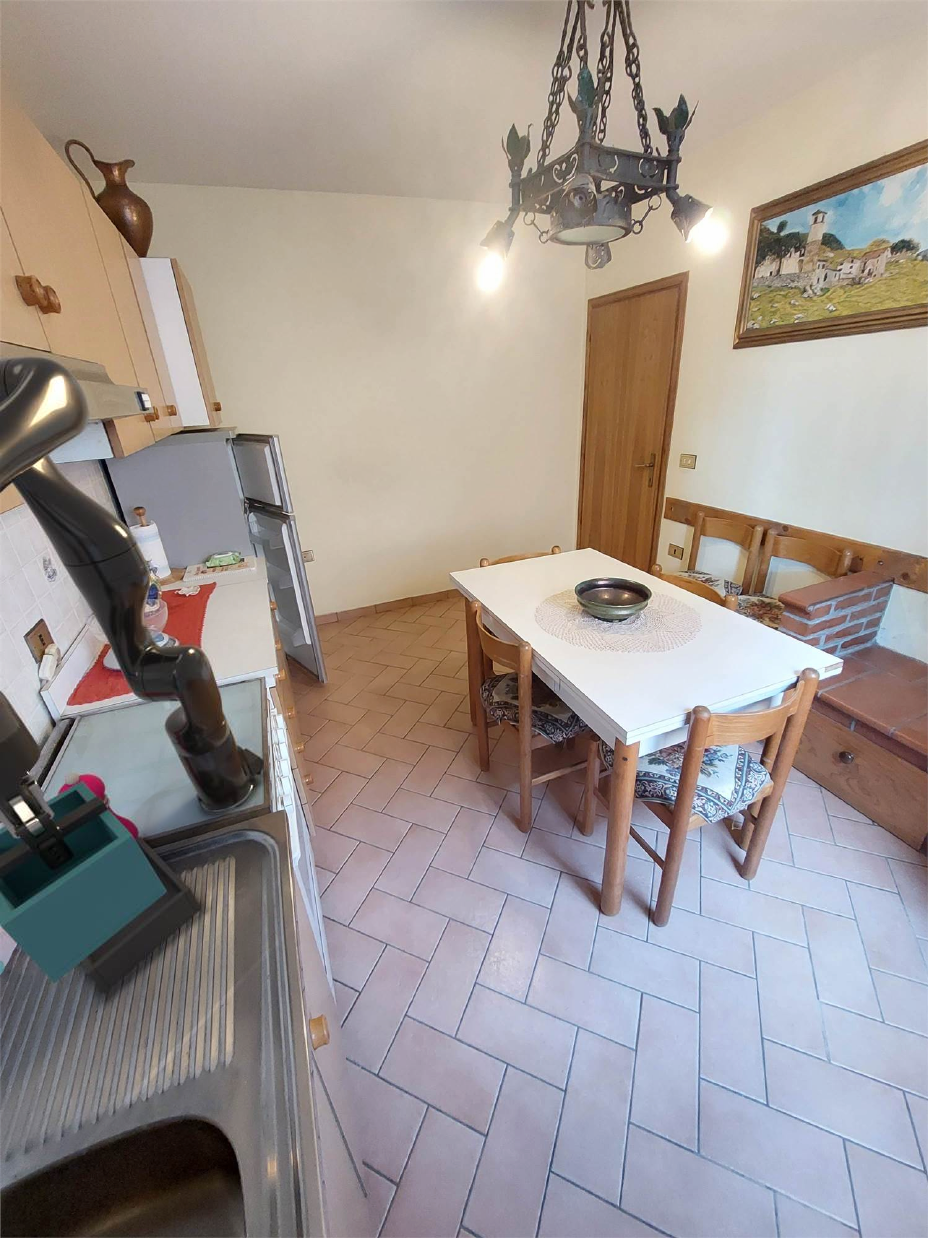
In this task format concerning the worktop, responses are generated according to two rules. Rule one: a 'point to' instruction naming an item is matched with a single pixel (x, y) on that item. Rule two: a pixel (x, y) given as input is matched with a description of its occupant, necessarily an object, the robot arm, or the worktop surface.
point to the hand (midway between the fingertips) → (58, 856)
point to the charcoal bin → (143, 927)
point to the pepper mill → (99, 790)
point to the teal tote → (74, 885)
